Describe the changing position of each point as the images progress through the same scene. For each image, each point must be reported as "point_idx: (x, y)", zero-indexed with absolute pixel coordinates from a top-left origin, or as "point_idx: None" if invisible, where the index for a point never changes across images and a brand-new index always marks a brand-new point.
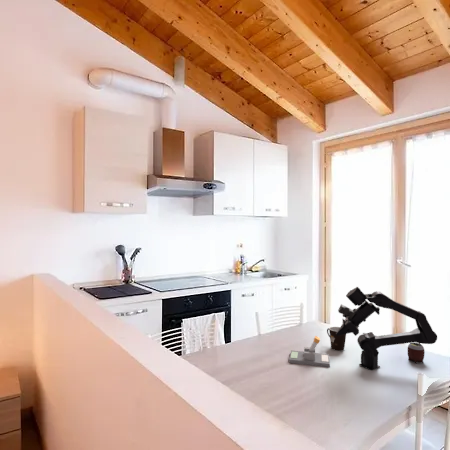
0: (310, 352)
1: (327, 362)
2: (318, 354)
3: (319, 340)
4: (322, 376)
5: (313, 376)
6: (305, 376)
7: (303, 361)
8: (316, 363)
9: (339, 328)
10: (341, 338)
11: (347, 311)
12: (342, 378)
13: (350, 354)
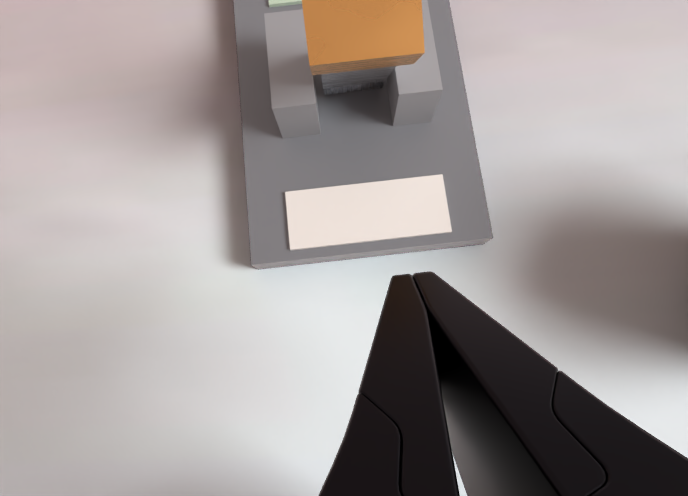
0: (297, 65)
1: (277, 242)
2: (442, 149)
3: (310, 61)
4: (60, 231)
5: (43, 170)
6: (28, 119)
7: (239, 60)
8: (246, 159)
9: (531, 352)
10: None
11: None
12: (64, 384)
13: (667, 439)
